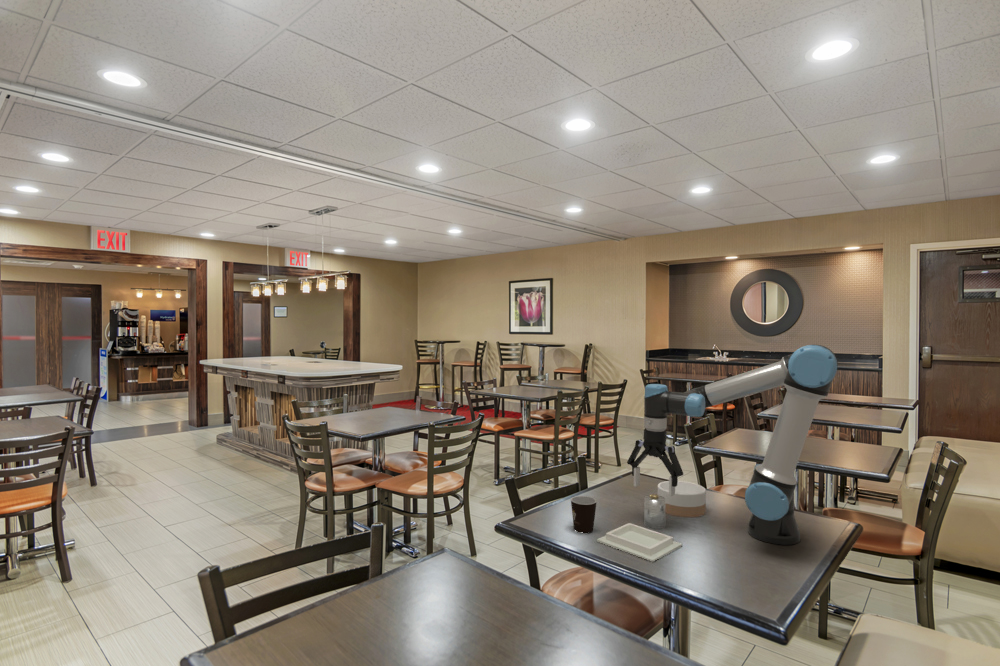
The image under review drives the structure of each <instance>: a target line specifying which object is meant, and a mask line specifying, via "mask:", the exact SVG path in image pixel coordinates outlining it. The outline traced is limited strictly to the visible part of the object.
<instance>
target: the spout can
mask: <svg viewBox="0 0 1000 666" xmlns="http://www.w3.org/2000/svg"><path fill="white" fill-rule="evenodd" d="M643 502H644V503H643V509H644V510H643V513H644V514H643V517H644V518H643V519H644V520H643V524H644V526H645V528H647V527H649V528H648V529H650V528H653V529H652V530H664V529H665V528H666V513H665V498H664V497H662V496H658V493H657V494H656V493H651V494H648V495H645V496H644V500H643ZM663 528H664V529H663Z"/></svg>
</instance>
